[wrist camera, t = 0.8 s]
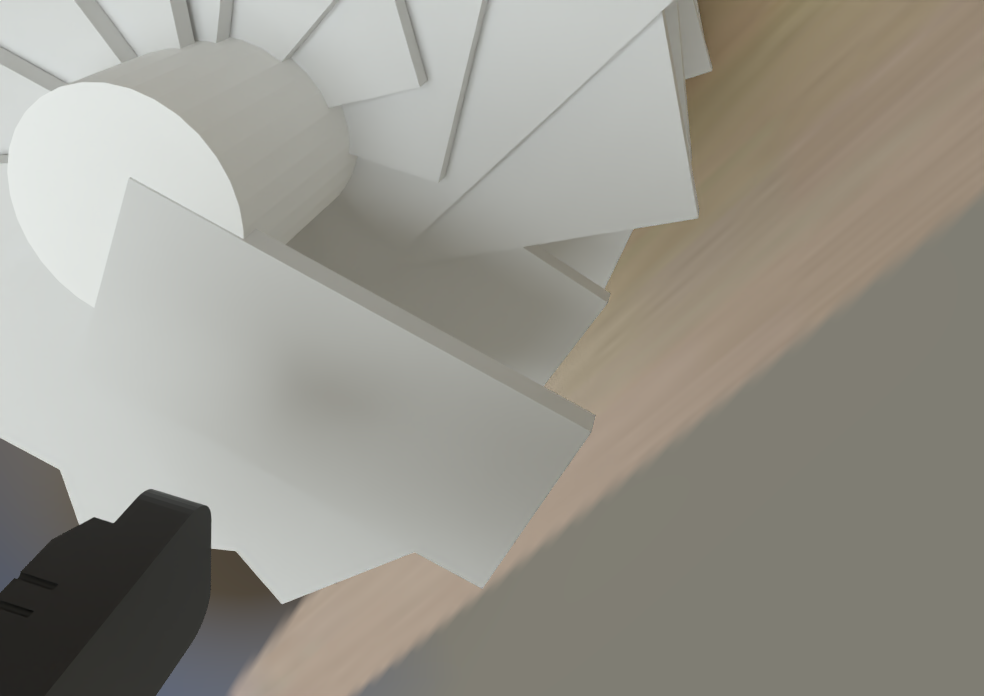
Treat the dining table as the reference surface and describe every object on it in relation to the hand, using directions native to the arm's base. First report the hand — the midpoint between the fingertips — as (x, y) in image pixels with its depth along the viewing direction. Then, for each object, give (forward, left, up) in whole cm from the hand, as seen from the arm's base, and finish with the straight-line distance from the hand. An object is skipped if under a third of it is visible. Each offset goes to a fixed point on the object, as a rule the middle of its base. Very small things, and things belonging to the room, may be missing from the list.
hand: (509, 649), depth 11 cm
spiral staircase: (+1, -8, -29) cm, 30 cm away
